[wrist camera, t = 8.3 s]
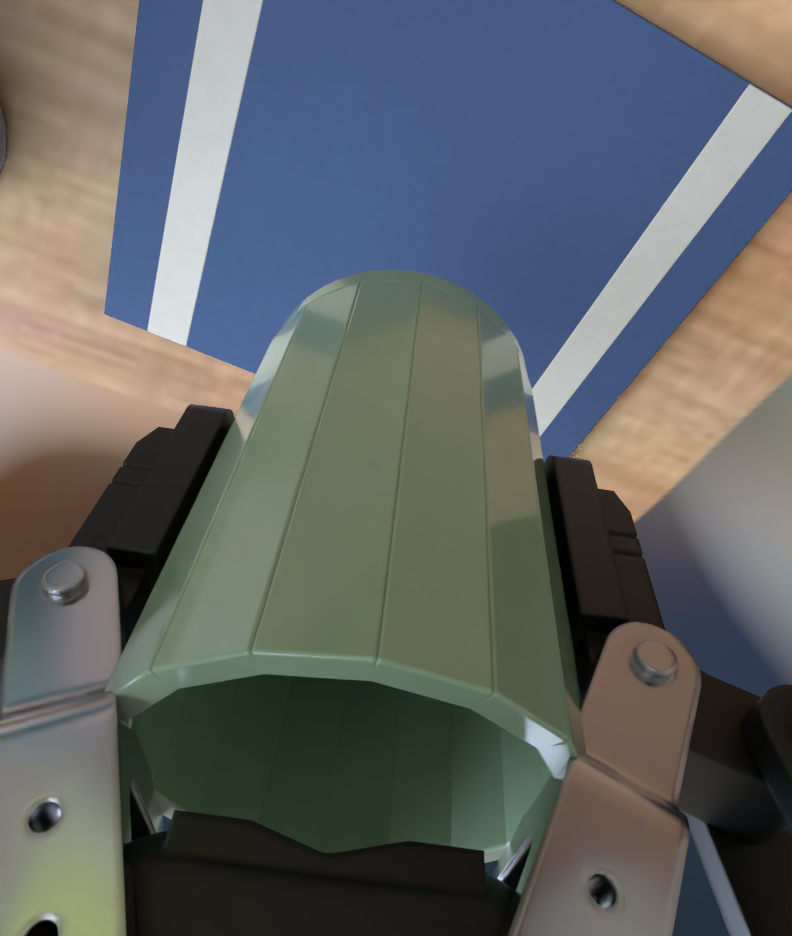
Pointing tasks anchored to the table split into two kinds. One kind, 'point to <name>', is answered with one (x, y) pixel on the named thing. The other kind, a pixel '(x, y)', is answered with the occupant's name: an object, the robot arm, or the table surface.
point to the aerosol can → (2, 139)
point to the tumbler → (366, 588)
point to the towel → (439, 175)
